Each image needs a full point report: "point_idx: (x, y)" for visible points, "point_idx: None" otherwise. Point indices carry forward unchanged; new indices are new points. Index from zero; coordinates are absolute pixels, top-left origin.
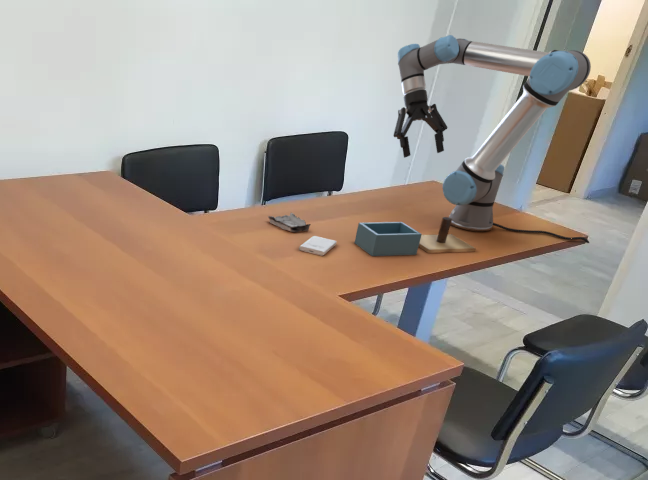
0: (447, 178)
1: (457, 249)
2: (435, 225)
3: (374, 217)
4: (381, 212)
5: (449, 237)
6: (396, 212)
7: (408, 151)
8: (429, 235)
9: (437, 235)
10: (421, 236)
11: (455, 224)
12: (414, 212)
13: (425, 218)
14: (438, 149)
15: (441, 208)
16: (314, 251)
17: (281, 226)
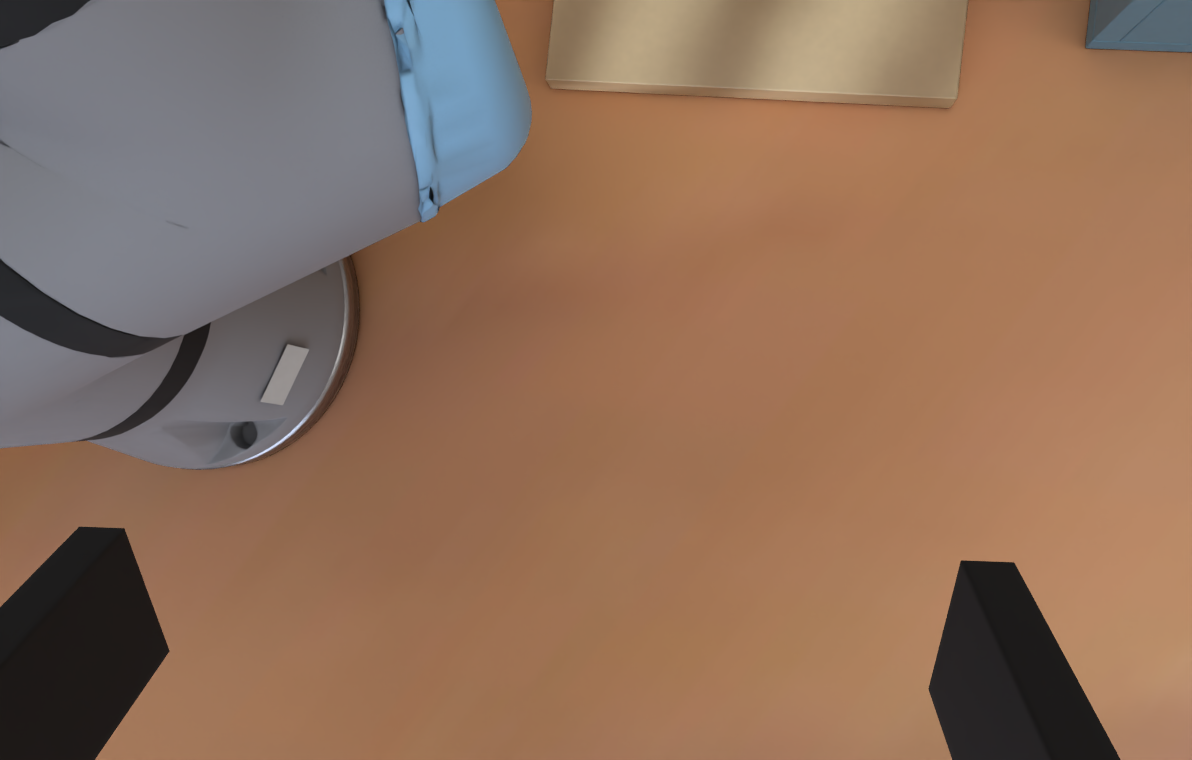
0: (502, 26)
1: None
2: (481, 353)
3: (880, 630)
4: (726, 732)
5: (620, 9)
6: (591, 700)
7: (1039, 632)
8: (756, 70)
9: (687, 62)
10: (845, 55)
11: (351, 286)
12: (437, 665)
13: (447, 515)
14: (121, 655)
15: (155, 700)
16: None
17: None
